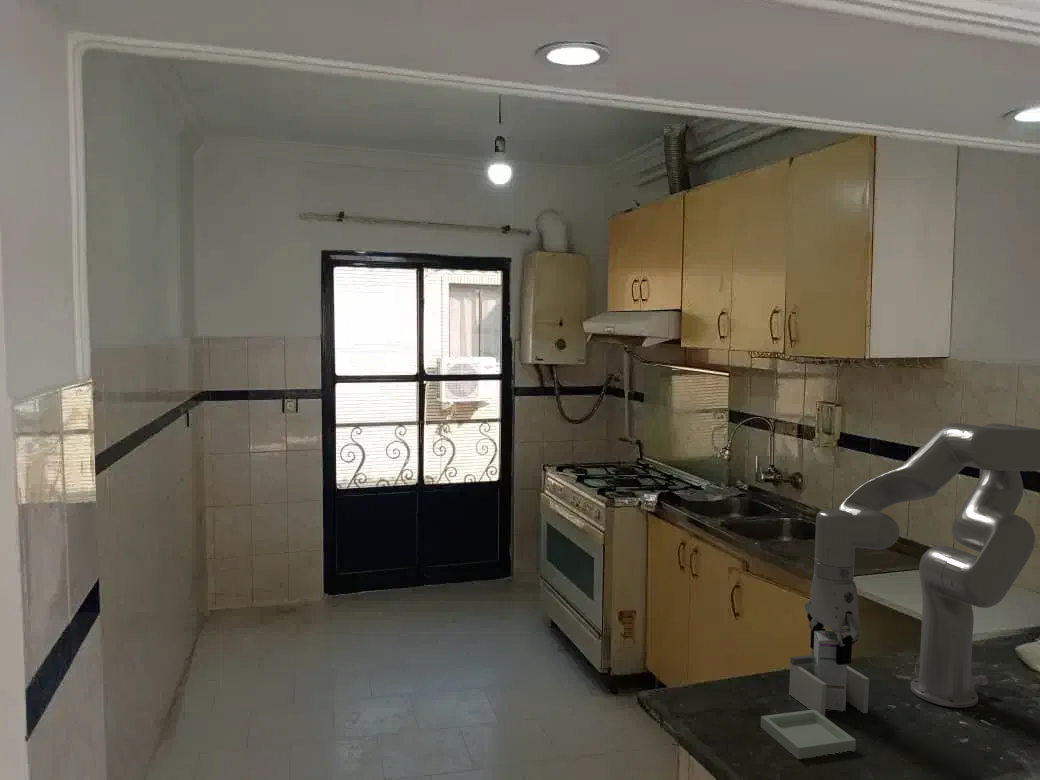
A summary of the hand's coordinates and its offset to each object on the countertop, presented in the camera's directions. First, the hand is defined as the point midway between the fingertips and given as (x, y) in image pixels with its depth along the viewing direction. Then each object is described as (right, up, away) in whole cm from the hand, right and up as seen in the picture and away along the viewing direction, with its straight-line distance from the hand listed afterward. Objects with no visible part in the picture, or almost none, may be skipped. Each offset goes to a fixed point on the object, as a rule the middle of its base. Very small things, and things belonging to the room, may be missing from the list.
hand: (830, 655), depth 159 cm
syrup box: (0, -11, +1) cm, 11 cm away
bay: (0, -10, +1) cm, 10 cm away
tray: (-10, -11, -13) cm, 20 cm away
